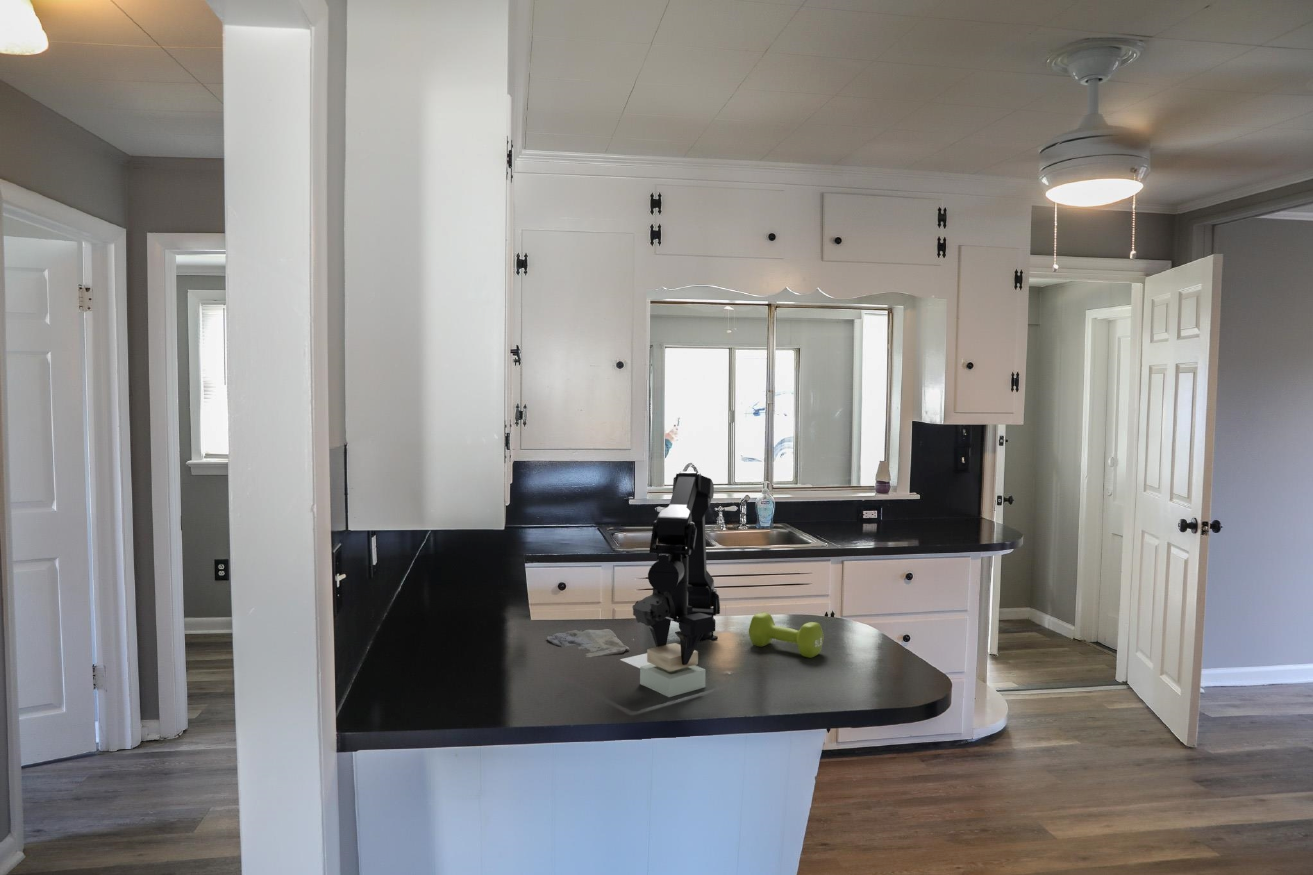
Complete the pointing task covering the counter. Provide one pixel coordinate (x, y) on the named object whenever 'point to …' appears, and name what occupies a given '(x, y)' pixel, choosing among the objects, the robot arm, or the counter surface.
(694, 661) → the lid
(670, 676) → the dish
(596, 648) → the crumpled grey cloth
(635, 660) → the mat
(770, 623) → the dumbbell
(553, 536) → the counter surface
